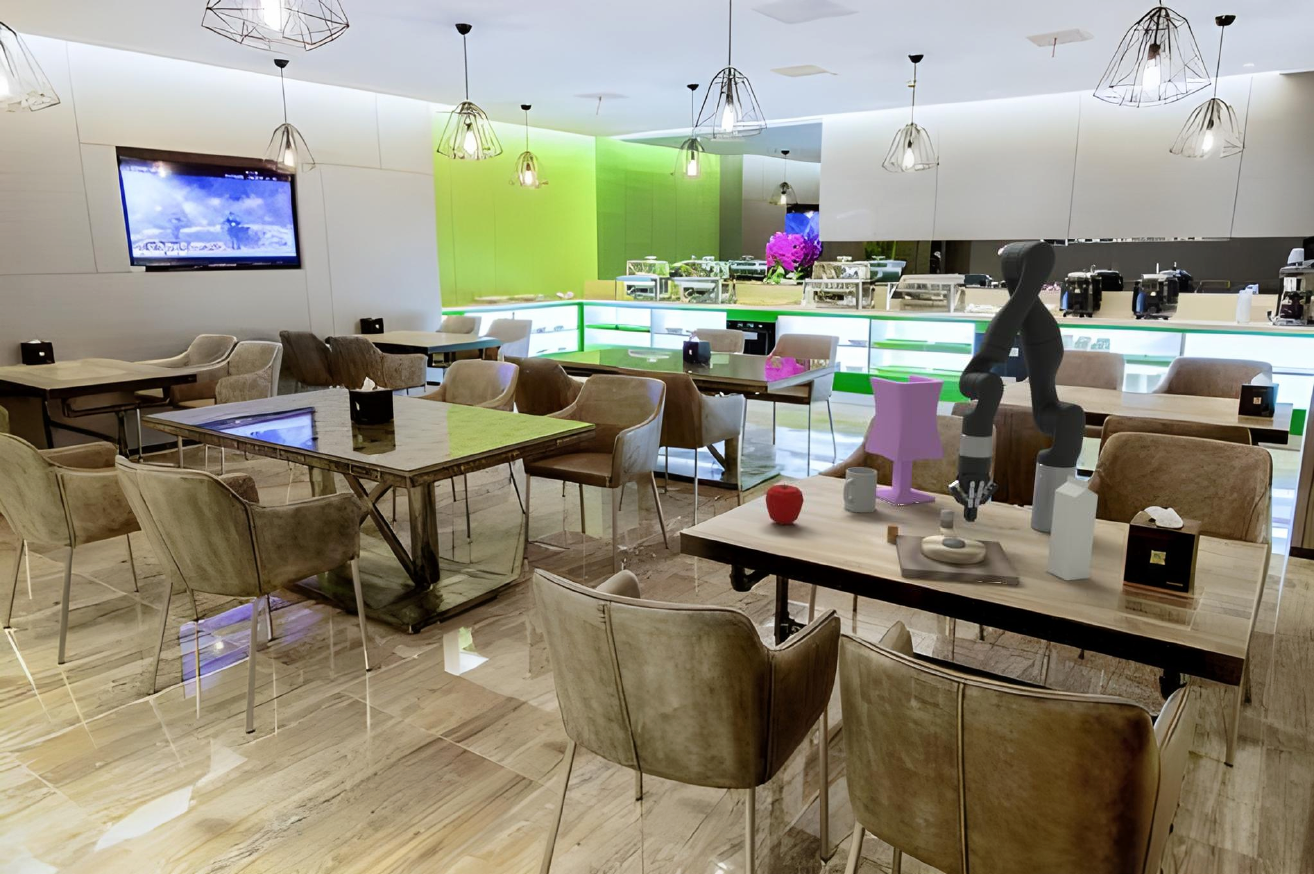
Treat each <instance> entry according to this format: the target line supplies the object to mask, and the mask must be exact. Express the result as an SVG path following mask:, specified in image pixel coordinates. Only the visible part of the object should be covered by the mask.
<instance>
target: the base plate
mask: <svg viewBox="0 0 1314 874" xmlns="http://www.w3.org/2000/svg"><path fill="white" fill-rule="evenodd" d="M886 531H887V533H886V540H887V543H895V547H896V552H897V558H898V564H899V569H900V573H901V577H908V578H922V579H934V580H936V579H937V580H946V579H948V580H949V581H960V582H972V581H982V582H981V583H985V582H1001V583H1007V584H1006V585H1011V584H1018V585H1019V575H1018V573H1017V572H1016V570H1015V568H1014V565H1013V564H1012V563H1011V561H1010V559H1009V558H1008V555H1007V554H1006V552H1005V550H1004V548H1003V547H1002V545H1001V543H1000V541H998V540H997V541H996V540H979V539H975V540H976V541H978V542H980V543H982V544H983V545H985V547H986V556H985V559H984V560H983V561H981V562H977V563H970V564H957V563H948V562H943V561H939V560H935V559H932V558H930V557H927V556H926V555H924V554H923V553H922V551H921V545H922V540H923V539H924V538H926V537H927V536H921V535H907V534H905V535H904V534H899V524H898V523H890V522H889V523H887V530H886Z"/></svg>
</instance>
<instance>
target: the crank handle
mask: <svg viewBox="0 0 1314 874" xmlns="http://www.w3.org/2000/svg"><path fill="white" fill-rule="evenodd" d="M954 517H955V511H954V510H951V509H941V510H940V520H939V525H938V527H939V528H938V529H939V530H938V535H931V536H925V537H926V538H924V539H923V540H922V545H921V551H922V553H923V554H924V555H926V556H927V557H930V558H932V559H935V560H939V561H943V562H948V563H957V564H970V563H977V562H981V561H983V560H984V559H985V556H986V547H985V545H983V544H982V543H980V542H978V541H976V540H977V539H972V538H970V537H964V536H959V535H957V534H956V532H955V531H956V530H955V529H954Z"/></svg>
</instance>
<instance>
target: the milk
mask: <svg viewBox="0 0 1314 874" xmlns="http://www.w3.org/2000/svg"><path fill="white" fill-rule="evenodd" d="M1098 497H1099V495H1098V494H1097V493H1096V492H1094V491H1092V490H1091V489H1089V481H1087V480H1084V479H1081V478H1078V477H1076V476H1075V477H1072V476H1068V477H1067V482H1066V483H1065V484H1063V485H1062V486H1061V487H1059V488H1058V489H1056V490H1055V499H1054V509H1053V519H1052V528H1051V533H1050V540H1049V550H1048V558H1047V559H1048V560H1047V569H1046V571H1047V572H1048V573H1050V574H1052V575H1054V576H1056V577H1058V578H1060V579H1062V580H1064V581H1075V580H1083V579H1089V577H1090V568H1091V558H1092V549H1093V542H1094V534H1095V533H1094V532H1095V526H1096V525H1095V524H1096V517H1097V516H1096V514H1097V506H1098Z"/></svg>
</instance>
